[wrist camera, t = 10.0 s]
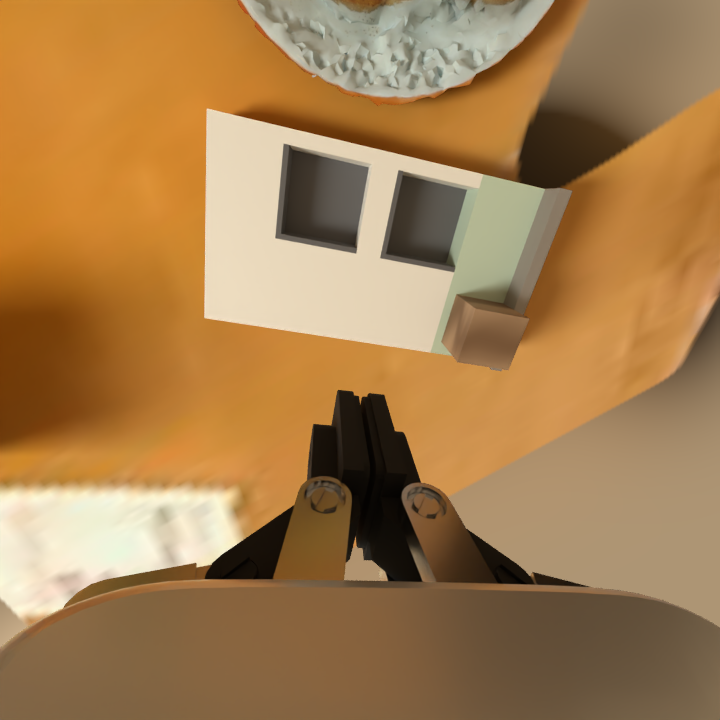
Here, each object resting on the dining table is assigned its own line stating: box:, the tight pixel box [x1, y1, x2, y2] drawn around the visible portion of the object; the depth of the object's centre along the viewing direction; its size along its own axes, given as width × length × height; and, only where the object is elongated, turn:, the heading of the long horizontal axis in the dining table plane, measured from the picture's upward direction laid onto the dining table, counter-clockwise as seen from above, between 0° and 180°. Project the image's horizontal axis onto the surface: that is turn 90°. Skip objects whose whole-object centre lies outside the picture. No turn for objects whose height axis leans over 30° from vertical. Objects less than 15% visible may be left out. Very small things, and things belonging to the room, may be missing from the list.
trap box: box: [204, 109, 572, 371], centre depth 29 cm, size 15×26×5 cm, turn 79°
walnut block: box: [441, 295, 529, 370], centre depth 29 cm, size 4×4×4 cm
